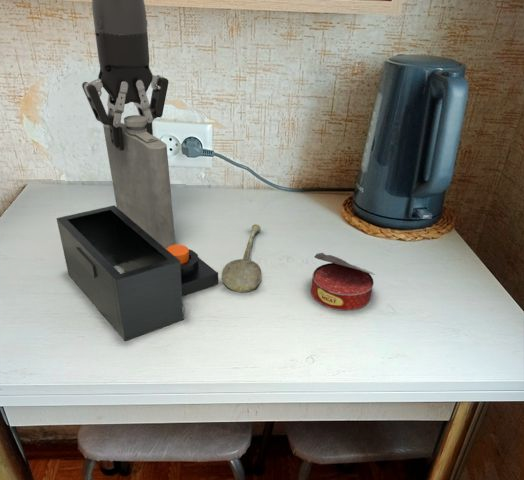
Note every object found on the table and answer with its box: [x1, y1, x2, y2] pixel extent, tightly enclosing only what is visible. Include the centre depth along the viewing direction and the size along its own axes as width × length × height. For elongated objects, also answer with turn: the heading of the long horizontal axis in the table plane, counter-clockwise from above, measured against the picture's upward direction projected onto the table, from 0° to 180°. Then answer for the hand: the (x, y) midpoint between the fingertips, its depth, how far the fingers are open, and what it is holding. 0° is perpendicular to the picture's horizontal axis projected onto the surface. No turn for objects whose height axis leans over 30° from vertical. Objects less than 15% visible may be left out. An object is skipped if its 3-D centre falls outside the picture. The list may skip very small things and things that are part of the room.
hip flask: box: [102, 114, 176, 249], centre depth 88 cm, size 16×4×20 cm, turn 44°
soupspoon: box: [221, 223, 262, 293], centre depth 90 cm, size 22×3×7 cm
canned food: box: [310, 252, 376, 312], centre depth 82 cm, size 11×10×10 cm
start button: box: [167, 244, 189, 264], centre depth 82 cm, size 4×4×2 cm
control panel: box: [180, 248, 219, 297], centre depth 83 cm, size 9×10×4 cm
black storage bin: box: [56, 204, 184, 342], centre depth 76 cm, size 10×21×10 cm, turn 37°
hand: (132, 146), depth 85 cm, fingers closed on hip flask, 4 cm apart
